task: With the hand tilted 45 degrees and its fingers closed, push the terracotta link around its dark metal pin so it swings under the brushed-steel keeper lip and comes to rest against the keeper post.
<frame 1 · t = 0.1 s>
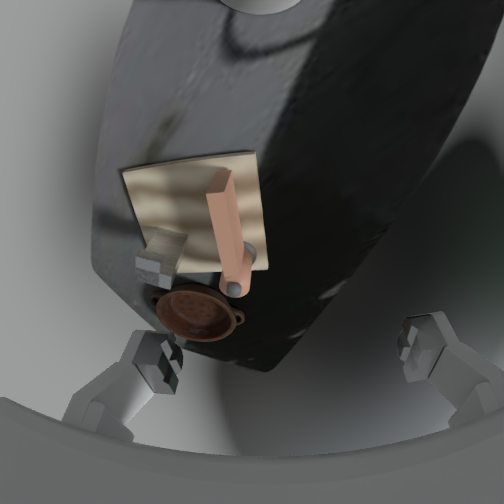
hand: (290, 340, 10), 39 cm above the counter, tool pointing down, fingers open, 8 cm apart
keeper: (240, 249, 56), resting on base board
link: (229, 238, 47), point 7 cm above the counter, hinge at 0.0°
base board: (199, 218, 53), on the counter
dish: (198, 302, 67), on the counter
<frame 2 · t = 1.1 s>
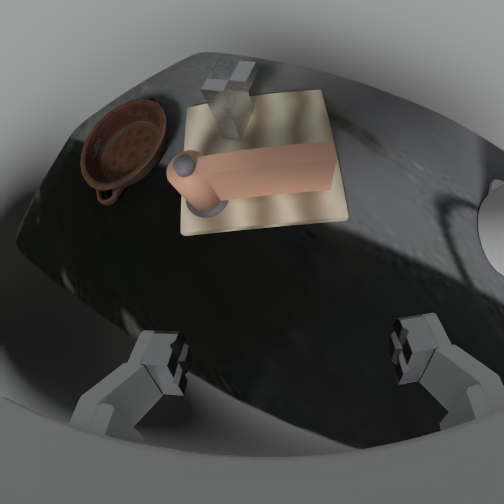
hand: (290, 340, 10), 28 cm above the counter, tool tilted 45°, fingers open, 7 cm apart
keeper: (210, 200, 43), resting on base board
link: (252, 172, 35), point 7 cm above the counter, hinge at 0.0°
base board: (258, 155, 43), on the counter
dish: (133, 153, 48), on the counter
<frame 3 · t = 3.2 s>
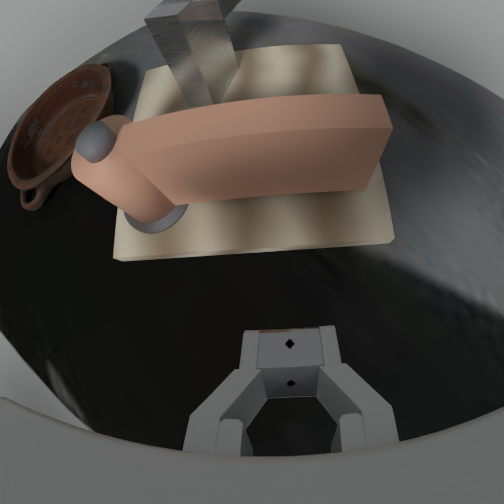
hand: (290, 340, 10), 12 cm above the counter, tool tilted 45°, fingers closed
keeper: (163, 204, 25), resting on base board
link: (223, 152, 18), point 7 cm above the counter, hinge at 0.0°
base board: (243, 133, 26), on the counter
dish: (73, 137, 31), on the counter
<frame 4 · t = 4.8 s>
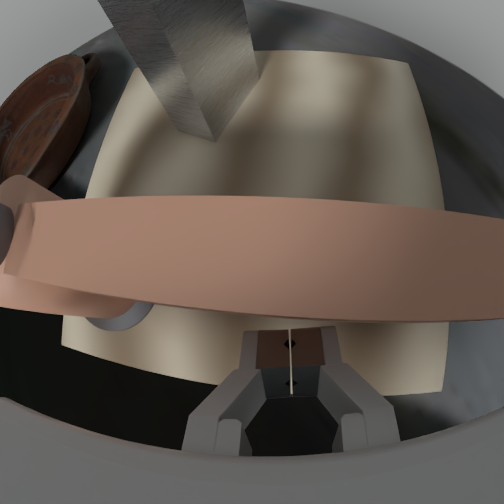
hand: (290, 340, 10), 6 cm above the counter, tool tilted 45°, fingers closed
keeper: (127, 280, 17), resting on base board
link: (200, 271, 10), point 7 cm above the counter, hinge at 0.1°, touching gripper
base board: (253, 185, 18), on the counter
dish: (43, 148, 23), on the counter
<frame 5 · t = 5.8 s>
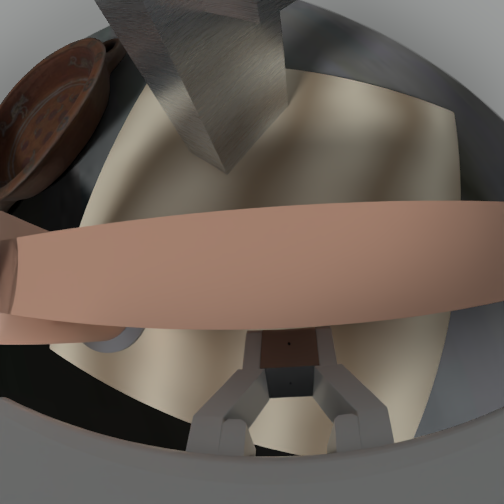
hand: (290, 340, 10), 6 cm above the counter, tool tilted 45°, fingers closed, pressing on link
keeper: (119, 300, 17), resting on base board
link: (187, 287, 10), point 7 cm above the counter, hinge at 17.3°, touching gripper
base board: (260, 228, 17), on the counter
dish: (56, 134, 22), on the counter
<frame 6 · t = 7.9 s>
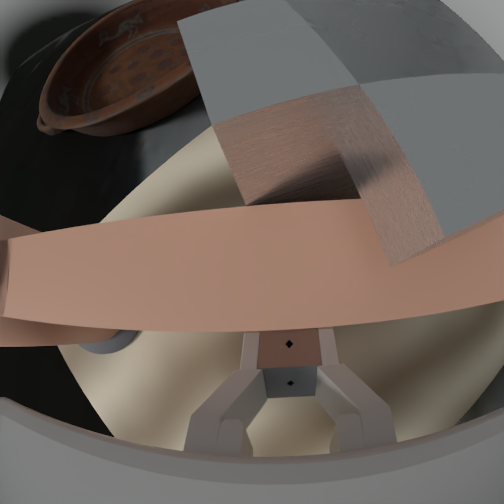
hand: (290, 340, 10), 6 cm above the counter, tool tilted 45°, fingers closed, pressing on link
keeper: (113, 301, 17), resting on base board
link: (178, 288, 9), point 7 cm above the counter, hinge at 52.3°, touching gripper
base board: (271, 334, 15), on the counter
dish: (150, 76, 21), on the counter
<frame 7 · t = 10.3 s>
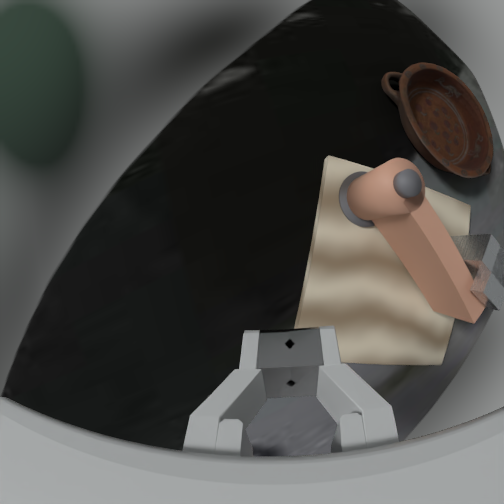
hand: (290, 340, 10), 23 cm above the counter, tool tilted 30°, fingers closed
keeper: (358, 201, 33), resting on base board
link: (425, 247, 27), point 7 cm above the counter, hinge at 52.4°
base board: (394, 272, 33), on the counter
dish: (434, 127, 34), on the counter
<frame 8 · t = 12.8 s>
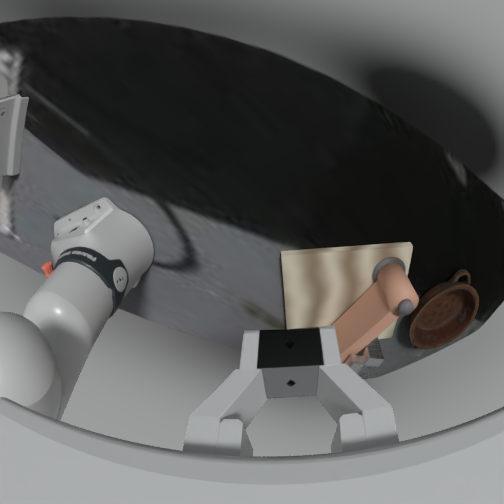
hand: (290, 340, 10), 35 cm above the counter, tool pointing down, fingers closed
keeper: (386, 267, 49), resting on base board
link: (369, 319, 47), point 7 cm above the counter, hinge at 52.4°
base board: (345, 298, 53), on the counter
hinge: (12, 132, 39), on the counter
dish: (437, 305, 54), on the counter
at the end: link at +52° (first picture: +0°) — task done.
